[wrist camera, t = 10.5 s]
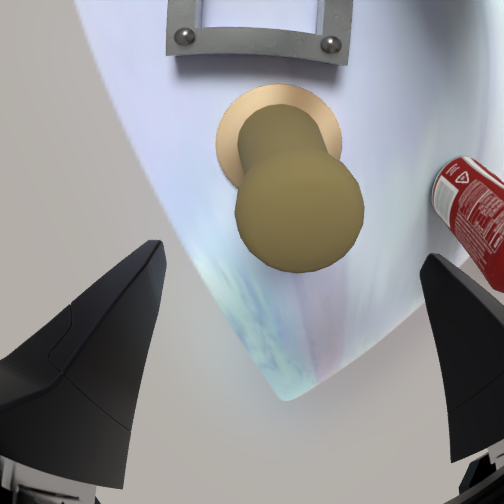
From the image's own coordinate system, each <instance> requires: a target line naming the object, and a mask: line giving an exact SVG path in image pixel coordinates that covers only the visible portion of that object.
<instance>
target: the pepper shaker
mask: <svg viewBox="0 0 504 504" xmlns="http://www.w3.org/2000/svg"><path fill="white" fill-rule="evenodd" d="M237 147H238V152H239V157H240V161H241V165H242V169H243V172H244V176H245V178H244V179H243V181H242V183H241V185H240V186H239V188H238V194H237V200H236V207H235V213H234V214H235V218H236V223H237V227H238V231H239V234H240V237H241V239H242V240H243V242H244V244H245V245H246V247H247V248H248V250H249V251H250V252H251V253H252V254H253V255H255V256H256V257H257V258H258V259H260V260H261V261H262V262H263V263H265V264H266V265H267V266H270V267H272V268H275V269H277V270H280V271H283V272H291V273H305V272H314V271H317V270H320V269H323V268H325V267H328V266H330V265H332V264H333V263H335V262H336V261H338V260H339V259H341V258H342V257H344V256H345V254H346V253H347V252H348V251H349V250H350V249H351V248H352V246H353V245H354V244H355V241H356V239H357V237H358V235H359V232H360V230H361V228H362V225H363V219H364V202H363V198H362V194H361V191H360V188H359V184H358V182H357V181H356V179H355V178H354V177H353V175H352V174H351V173H350V171H349V170H348V169H347V168H346V166H345V165H344V164H343V163H342V162H341V161H339V160H338V159H336V158H334V157H333V156H331V155H330V154H328V151H327V148H326V145H325V142H324V140H323V137H322V134H321V132H320V129H319V127H318V125H317V123H316V122H315V121H314V119H313V118H312V117H311V116H310V115H309V114H308V113H306V112H305V111H303V110H301V109H299V108H298V107H295V106H291V105H286V104H276V105H268V106H266V107H263V108H261V109H259V110H257V111H255V112H254V113H253V114H252V115H251V116H249V117H248V118H247V119H246V120H245V122H244V124H243V125H242V127H241V129H240V131H239V135H238V142H237Z"/></svg>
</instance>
